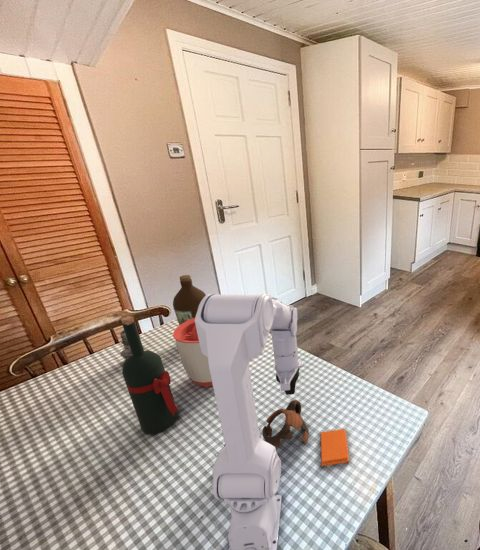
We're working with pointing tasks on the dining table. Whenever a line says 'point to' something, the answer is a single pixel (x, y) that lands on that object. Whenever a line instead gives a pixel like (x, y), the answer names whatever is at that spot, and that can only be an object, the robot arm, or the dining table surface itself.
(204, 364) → the citrus juicer
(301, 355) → the dining table surface
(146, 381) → the wine bottle
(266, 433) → the brown toy figure
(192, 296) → the olive oil
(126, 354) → the salt shaker
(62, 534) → the dining table surface
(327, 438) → the orange flat block
